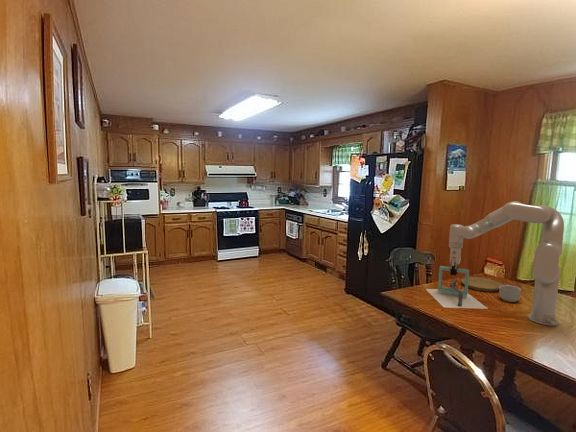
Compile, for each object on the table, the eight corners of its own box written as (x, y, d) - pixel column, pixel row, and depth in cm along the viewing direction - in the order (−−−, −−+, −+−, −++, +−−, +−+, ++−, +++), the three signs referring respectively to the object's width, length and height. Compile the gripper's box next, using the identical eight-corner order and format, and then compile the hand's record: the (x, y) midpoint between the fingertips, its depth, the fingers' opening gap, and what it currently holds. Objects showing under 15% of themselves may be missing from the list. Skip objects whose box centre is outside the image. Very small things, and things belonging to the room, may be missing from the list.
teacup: (519, 305, 190) (520, 292, 189) (497, 301, 197) (498, 288, 196) (520, 298, 201) (521, 285, 200) (499, 294, 208) (500, 282, 207)
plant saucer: (455, 286, 223) (455, 281, 223) (468, 279, 239) (469, 274, 238) (495, 296, 205) (495, 291, 205) (507, 287, 221) (507, 282, 220)
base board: (488, 311, 182) (488, 308, 181) (443, 309, 183) (443, 307, 183) (463, 292, 211) (463, 289, 211) (425, 291, 213) (425, 288, 213)
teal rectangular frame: (466, 296, 195) (468, 271, 193) (437, 290, 204) (439, 267, 202) (467, 293, 200) (469, 269, 198) (439, 288, 209) (440, 265, 207)
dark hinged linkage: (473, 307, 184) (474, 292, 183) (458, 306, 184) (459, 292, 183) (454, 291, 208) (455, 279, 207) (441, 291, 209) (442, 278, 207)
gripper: (461, 248, 189) (458, 278, 191) (464, 243, 203) (462, 271, 205) (446, 246, 193) (444, 276, 196) (450, 241, 207) (449, 269, 209)
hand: (453, 273), depth 200 cm, fingers closed on teal rectangular frame, 4 cm apart
